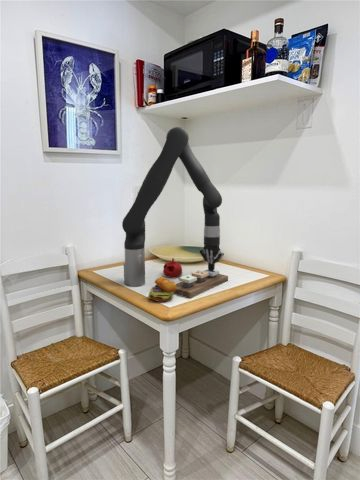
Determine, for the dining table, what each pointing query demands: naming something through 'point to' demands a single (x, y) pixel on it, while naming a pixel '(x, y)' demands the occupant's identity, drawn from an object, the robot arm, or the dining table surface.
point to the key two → (200, 275)
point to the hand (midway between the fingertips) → (211, 270)
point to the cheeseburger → (162, 290)
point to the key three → (212, 273)
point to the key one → (187, 280)
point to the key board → (200, 286)
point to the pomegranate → (172, 269)
